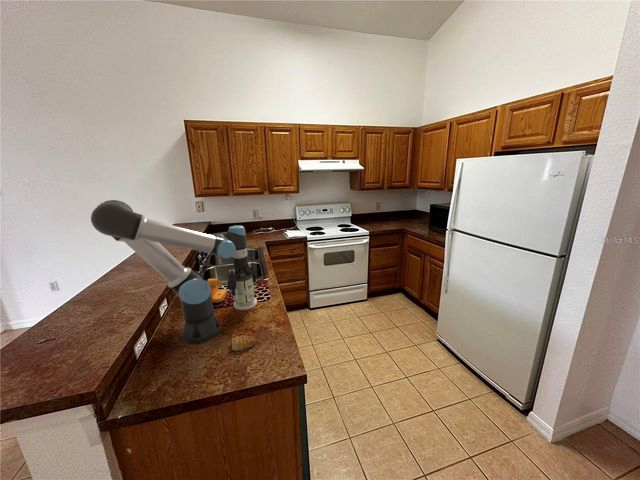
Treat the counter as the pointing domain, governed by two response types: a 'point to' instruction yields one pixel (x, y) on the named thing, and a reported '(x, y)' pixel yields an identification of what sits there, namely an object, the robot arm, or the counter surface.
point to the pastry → (242, 342)
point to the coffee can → (244, 289)
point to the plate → (245, 307)
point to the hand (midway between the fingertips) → (244, 296)
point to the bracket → (216, 291)
